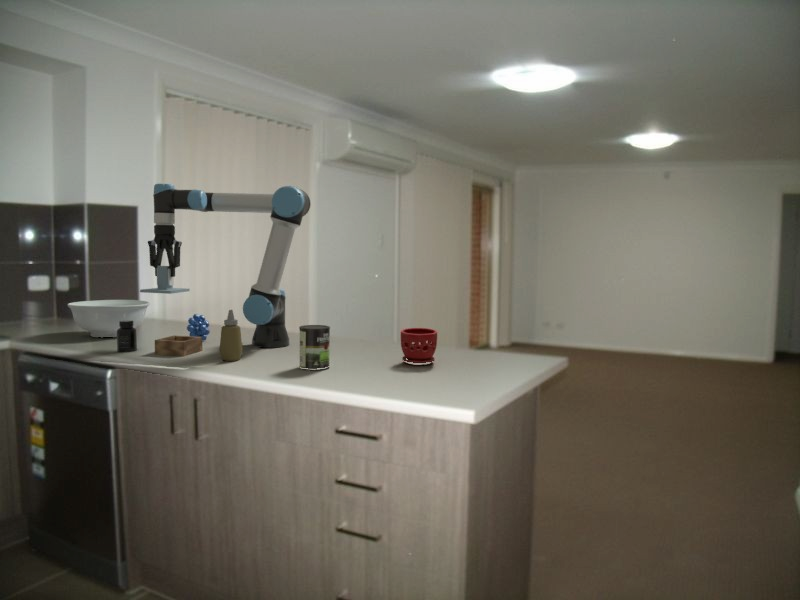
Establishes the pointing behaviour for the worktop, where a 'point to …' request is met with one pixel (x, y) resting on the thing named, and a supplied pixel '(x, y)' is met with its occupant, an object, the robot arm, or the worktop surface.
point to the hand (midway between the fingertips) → (165, 284)
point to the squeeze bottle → (230, 339)
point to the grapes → (198, 327)
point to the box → (178, 345)
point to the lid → (163, 283)
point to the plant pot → (416, 350)
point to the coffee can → (314, 346)
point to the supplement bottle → (126, 337)
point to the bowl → (107, 315)
